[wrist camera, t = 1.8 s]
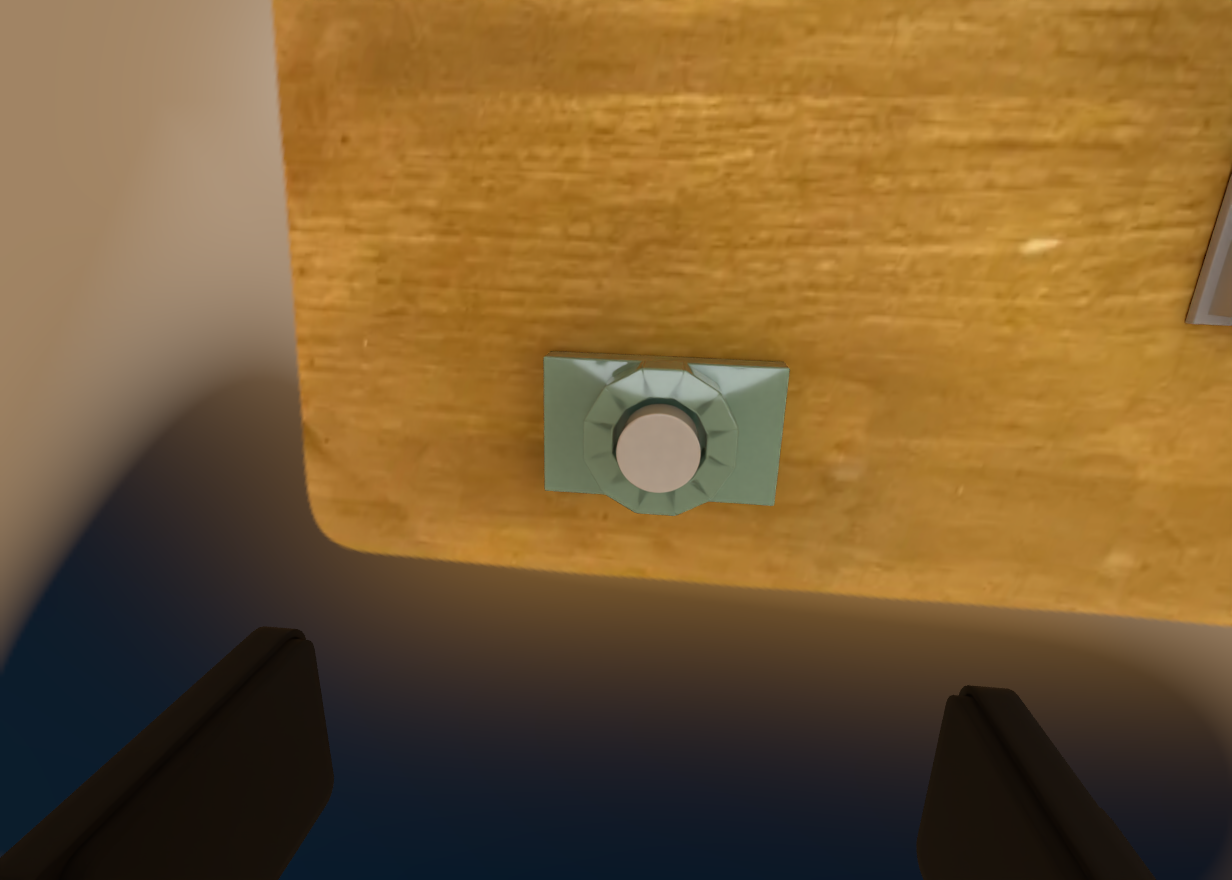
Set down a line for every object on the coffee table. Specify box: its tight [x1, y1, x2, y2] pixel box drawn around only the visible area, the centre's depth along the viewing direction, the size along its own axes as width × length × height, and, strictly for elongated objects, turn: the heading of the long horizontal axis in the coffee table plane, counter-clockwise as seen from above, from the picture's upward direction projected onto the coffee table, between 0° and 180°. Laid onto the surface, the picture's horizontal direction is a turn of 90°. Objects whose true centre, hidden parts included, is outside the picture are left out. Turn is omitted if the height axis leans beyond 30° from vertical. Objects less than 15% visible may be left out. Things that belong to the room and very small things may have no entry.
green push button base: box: [543, 351, 790, 516], centre depth 26 cm, size 10×6×3 cm, turn 88°
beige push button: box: [616, 404, 701, 493], centre depth 24 cm, size 3×3×2 cm
